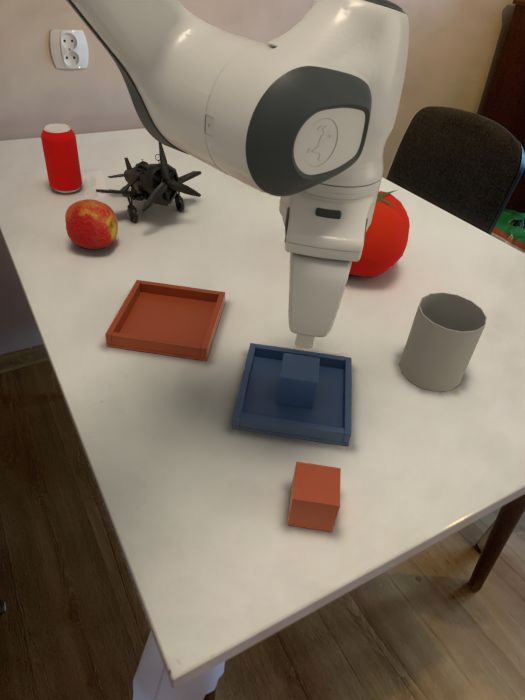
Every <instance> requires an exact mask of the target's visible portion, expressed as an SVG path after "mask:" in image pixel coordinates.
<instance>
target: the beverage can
mask: <svg viewBox="0 0 525 700" xmlns="http://www.w3.org/2000/svg"><path fill="white" fill-rule="evenodd" d="M40 140H41V146H42V153H43V158H44V162H45V169H46V173H47V179H48V185H49V187H50V188H51V189H52V190H53V191H55V192H58V193H59V194H72V193H75V192H77V191H79V190H80V189H81V188H82V187H83V178H82V171H81V165H80V157H79V150H78V142H77V136H76V133H75V131H74V130H73V129H72V128H71V126H70V125H67V124H65V123H56V122H55V123H49V124H46V125H44V126H43V128H42V130H41V134H40Z"/></svg>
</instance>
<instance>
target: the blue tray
mask: <svg viewBox="0 0 525 700" xmlns="http://www.w3.org/2000/svg"><path fill="white" fill-rule="evenodd" d="M284 353H289V354H296V355H303V356H309V357H316V358H320V362H319V376H318V385H317V390H316V395H315V400H314V405H313V409H310V408H304V407H297V406H290V405H284V404H277V403H276V402H277V394H278V387H279V380H280V373H281V367H282V360H283V354H284ZM352 359H353V358H352V357H350V356H345V355H337V354H329V353H323V352H316V351H310V350H304V349H302V350H301V349H296V348H290V347H289V348H288V347H280V346H274V345H268V344H261V343H253V342H250V343H249V348H248V352H247V356H246V360H245V365H244V369H243V373H242V377H241V381H240V384H239V385H240V386H239V389H238V390H239V391H238V394H237V398H236V403H235V407H234V411H233V415H232V429H234V430H239V431H247V432H254V433H260V434H267V435H272V436H278V437H286V438H292V439H299V440H307V441H311V442H312V441H313V442H318V443H319V442H320V443H325V444H332V445H339V446H344V447H349V444H350V441H351V438H352V434H353V433H352V431H353V430H352V425H353V424H352V419H353V417H352V411H353V410H352V406H353V405H352V403H353V402H352V396H353V395H352V394H353V393H352V385H353V383H352V376H353V375H352V373H353V371H352V367H353V365H352V363H353V362H352Z"/></svg>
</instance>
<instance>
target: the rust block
mask: <svg viewBox="0 0 525 700" xmlns="http://www.w3.org/2000/svg"><path fill="white" fill-rule="evenodd" d="M341 472H342V468H340V467H335V466H330V465H329V466H327V465H322V464H315V463H309V462H303V461H296V462H295V466H294V473H293V478H292V482H291V487H290V488H291V489H290V496H289V506H288V516H287V526H292V527H299V528H305V529H311V530H317V531H324V532H328V533H329V532H331V533H333V531H334V527H335V524H336V522H337V521H336V520H337V517H338V514H339V510H340V508H341V477H342V476H341V475H342V474H341Z"/></svg>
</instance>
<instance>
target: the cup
mask: <svg viewBox="0 0 525 700" xmlns="http://www.w3.org/2000/svg"><path fill="white" fill-rule="evenodd" d="M416 309H417V310H416V312H415V315H414V318H413V322H412V324H411V328H410V330H409V333H408V337H407V340H406V343H405V346H404V348H403V352H402V354H401V357H400V361H399V369H400V372H401V374H402V375H403V376H404V377H405V378H406V379H407V380H408V381H409V382H410V383H411V384H413V385H414V386H417V387H419V388H420V389H423V390H425V391H432V392H437V393H442V392H449V391H453V390H454V389H455V388H457V387H458V386H460V384H461V382H462V379H463V377H464V375H465V373H466V370H467V368H468V366H469V364H470V362H471V359H472V356H473V354H474V352H475V350H476V347H477V345H478V343H479V341H480V339H481V336H482V334H483V332H484V330H485V327H486V324H487V320H488V319H487V315H486V313H485V312H484V309H482V308H481V306H479V305H477V303H475V302H473V301H472V300H471V299H468V298H465V297H464V296H461V295H458V294H454V293H448V292H433V293H432V292H431V293H428V294H427V295H425V296H423V297H421V299H420V301H419V304H418V306H417V308H416Z"/></svg>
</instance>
